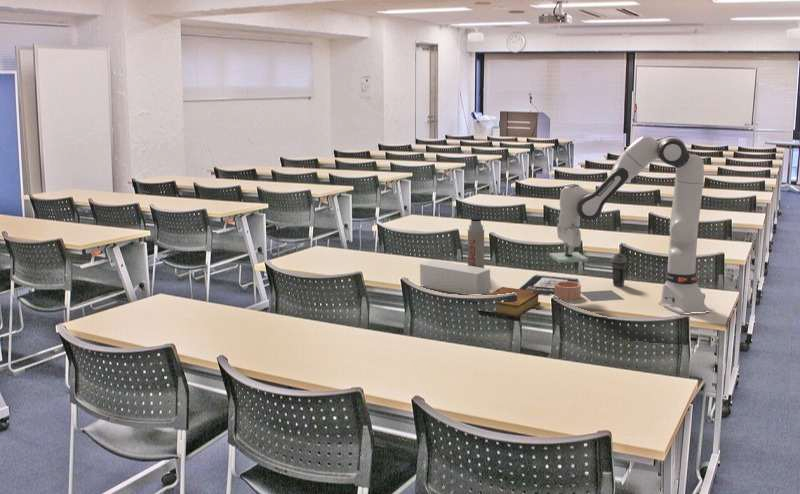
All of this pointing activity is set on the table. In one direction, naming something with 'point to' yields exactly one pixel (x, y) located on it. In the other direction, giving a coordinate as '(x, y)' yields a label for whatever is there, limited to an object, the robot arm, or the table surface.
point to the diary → (516, 302)
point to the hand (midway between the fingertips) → (568, 253)
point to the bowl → (567, 290)
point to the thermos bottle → (476, 243)
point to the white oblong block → (455, 277)
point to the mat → (601, 295)
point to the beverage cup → (619, 269)
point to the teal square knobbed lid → (568, 256)
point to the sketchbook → (544, 284)
